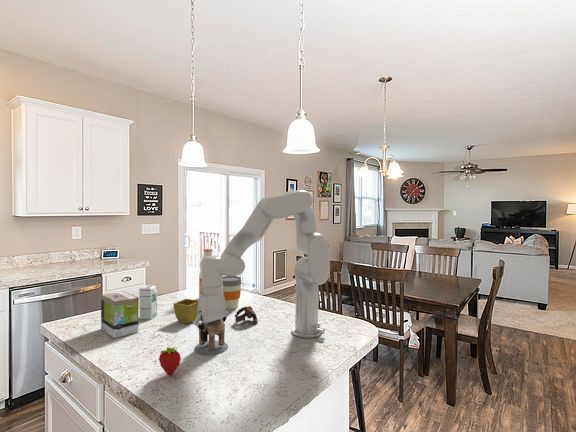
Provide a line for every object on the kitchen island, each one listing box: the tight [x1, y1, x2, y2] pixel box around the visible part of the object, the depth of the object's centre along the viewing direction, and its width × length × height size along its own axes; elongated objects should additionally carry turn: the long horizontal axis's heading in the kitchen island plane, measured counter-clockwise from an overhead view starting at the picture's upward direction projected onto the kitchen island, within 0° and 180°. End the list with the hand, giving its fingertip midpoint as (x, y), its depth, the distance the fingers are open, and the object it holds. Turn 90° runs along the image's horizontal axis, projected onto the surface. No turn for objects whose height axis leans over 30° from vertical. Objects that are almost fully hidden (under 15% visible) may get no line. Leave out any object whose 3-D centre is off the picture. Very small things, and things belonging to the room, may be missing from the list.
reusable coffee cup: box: [222, 276, 242, 310], centre depth 174 cm, size 13×13×15 cm
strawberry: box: [158, 343, 182, 377], centre depth 103 cm, size 6×8×10 cm
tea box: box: [100, 291, 140, 339], centre depth 139 cm, size 15×10×15 cm
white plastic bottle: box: [198, 248, 214, 296], centre depth 189 cm, size 9×9×28 cm
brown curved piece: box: [234, 306, 259, 325], centre depth 152 cm, size 12×10×8 cm
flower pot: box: [173, 298, 199, 324], centre depth 151 cm, size 9×9×9 cm
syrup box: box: [138, 284, 158, 320], centre depth 156 cm, size 6×6×14 cm
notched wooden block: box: [198, 321, 226, 350], centre depth 124 cm, size 6×8×8 cm
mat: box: [194, 339, 229, 356], centre depth 124 cm, size 12×12×1 cm
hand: (211, 337), depth 124 cm, fingers closed on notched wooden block, 6 cm apart
